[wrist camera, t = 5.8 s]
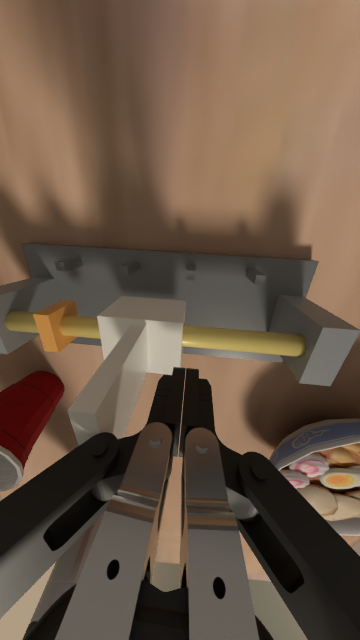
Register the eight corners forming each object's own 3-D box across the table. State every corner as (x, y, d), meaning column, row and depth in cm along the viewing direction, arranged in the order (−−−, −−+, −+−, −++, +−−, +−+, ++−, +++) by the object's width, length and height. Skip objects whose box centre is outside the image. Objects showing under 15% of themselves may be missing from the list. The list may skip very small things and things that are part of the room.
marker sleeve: (186, 300, 16) (166, 416, 6) (183, 343, 18) (165, 487, 8) (121, 295, 17) (-4, 396, 6) (125, 338, 19) (35, 469, 8)
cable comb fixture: (311, 259, 18) (396, 278, 11) (278, 356, 24) (318, 417, 16) (30, 243, 20) (-76, 248, 12) (56, 336, 25) (-7, 382, 17)
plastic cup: (87, 410, 32) (29, 502, 21) (28, 405, 32) (-57, 490, 21) (72, 359, 27) (-12, 444, 16) (5, 354, 28) (-119, 431, 17)
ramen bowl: (266, 371, 25) (295, 429, 17) (451, 386, 23) (570, 457, 16) (237, 472, 35) (247, 534, 28) (362, 486, 34) (408, 557, 26)
